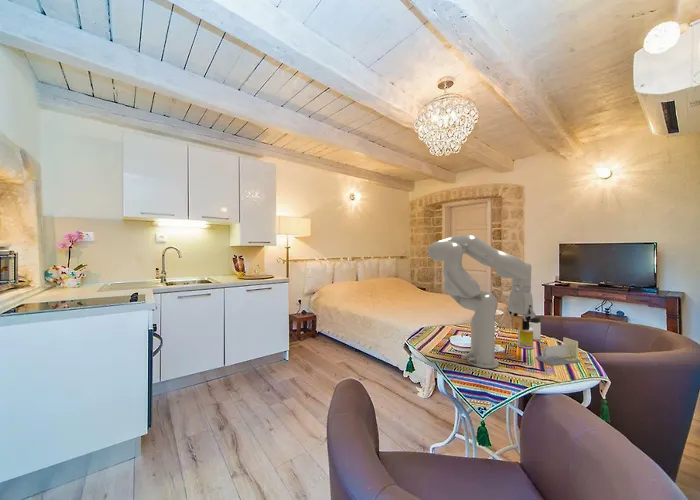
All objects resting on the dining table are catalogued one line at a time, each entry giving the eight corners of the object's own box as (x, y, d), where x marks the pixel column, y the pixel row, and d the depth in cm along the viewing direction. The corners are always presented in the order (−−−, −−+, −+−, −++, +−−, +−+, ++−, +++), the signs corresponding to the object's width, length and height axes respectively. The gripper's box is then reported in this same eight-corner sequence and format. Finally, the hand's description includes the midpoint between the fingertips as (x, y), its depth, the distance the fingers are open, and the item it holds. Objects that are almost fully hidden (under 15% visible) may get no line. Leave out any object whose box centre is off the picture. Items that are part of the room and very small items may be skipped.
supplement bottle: (535, 349, 142) (535, 324, 142) (520, 348, 143) (521, 323, 143) (529, 345, 148) (529, 320, 148) (516, 344, 150) (516, 320, 150)
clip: (521, 330, 130) (521, 318, 130) (512, 327, 135) (512, 316, 135) (528, 330, 131) (529, 318, 131) (518, 327, 136) (519, 315, 136)
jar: (522, 334, 168) (522, 314, 168) (539, 336, 164) (539, 315, 164) (523, 338, 160) (524, 317, 160) (541, 340, 156) (541, 319, 156)
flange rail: (551, 365, 122) (552, 345, 122) (535, 358, 130) (535, 339, 130) (580, 362, 126) (580, 342, 126) (562, 355, 134) (562, 336, 134)
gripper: (500, 286, 140) (499, 323, 140) (530, 291, 124) (529, 333, 123) (513, 286, 142) (512, 323, 142) (544, 291, 125) (543, 332, 125)
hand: (520, 327), depth 133 cm, fingers closed on clip, 5 cm apart
